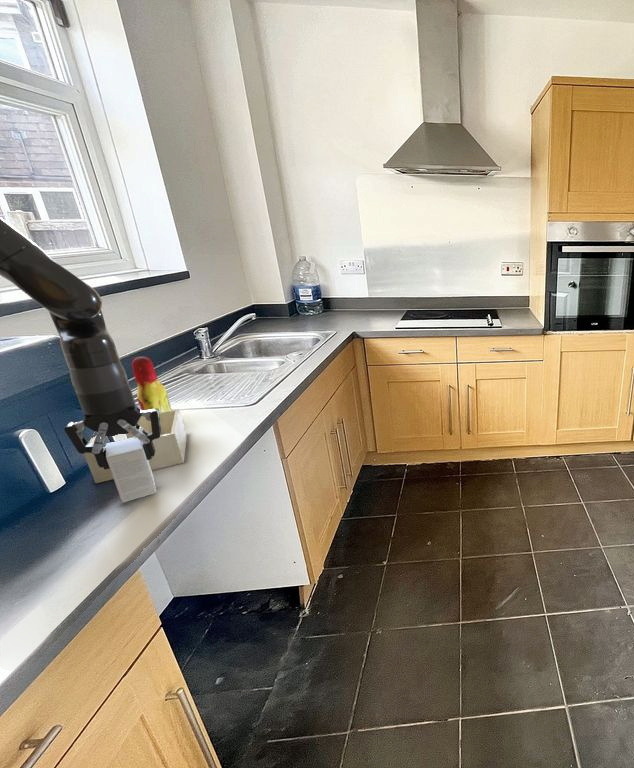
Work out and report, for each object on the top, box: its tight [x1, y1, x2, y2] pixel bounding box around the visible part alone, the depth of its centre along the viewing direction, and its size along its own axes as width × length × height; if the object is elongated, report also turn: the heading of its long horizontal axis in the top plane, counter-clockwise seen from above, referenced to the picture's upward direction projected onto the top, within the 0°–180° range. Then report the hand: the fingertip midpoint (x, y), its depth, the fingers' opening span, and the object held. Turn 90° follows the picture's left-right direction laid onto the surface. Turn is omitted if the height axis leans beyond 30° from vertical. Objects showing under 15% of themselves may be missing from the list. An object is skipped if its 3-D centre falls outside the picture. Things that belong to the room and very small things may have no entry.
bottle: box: [131, 356, 172, 413], centre depth 117 cm, size 12×6×20 cm, turn 30°
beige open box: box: [83, 408, 188, 484], centre depth 101 cm, size 16×18×8 cm
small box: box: [106, 437, 157, 504], centre depth 86 cm, size 8×6×10 cm
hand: (129, 462), depth 85 cm, fingers closed on small box, 6 cm apart
